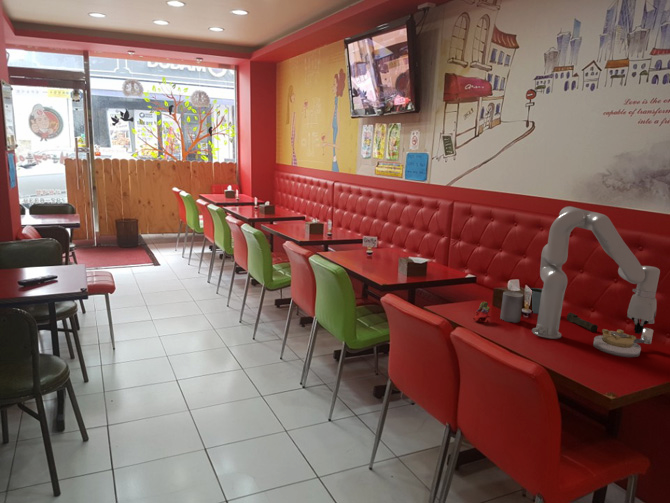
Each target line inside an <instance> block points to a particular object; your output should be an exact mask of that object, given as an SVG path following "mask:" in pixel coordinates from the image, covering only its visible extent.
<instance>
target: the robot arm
mask: <svg viewBox="0 0 670 503" xmlns="http://www.w3.org/2000/svg"><path fill="white" fill-rule="evenodd" d="M575 228H580V229H585V230H588V231H591V232H592V233H593V235H594V236H595V238H596V239H597V241H598V243H599V245H600V246H601V248H602V250H603V251H604V252H605V253H606V255H608V256H609V257H610V258H611V259H613V260H614V262H615V263H616V264H617V265H618V270H617V273H618V275H619V277H620V278H622V279H623V280H625V281H627V282H628V283H629V284H634V285H636V287H635V288H632V293H633V292H634V293H633V294H632V296H631V299H630V301H629V304H628V308H627V312H626V313H627V316H626V317H627V318H628V319H630V320H632V322H633V324H634V329H633V331H634V334H637V335H640V334H642V330H643V328H645V327H644V326H645V325H648V324H649V325H650V324H651V325H653V324H655V319H656V316H657V305H658V304H657V298H656V294H657V289H658V283H659V278H660V275H661V274H660V273H661V270H660V269H659V268H658V267H656V266H651V265H642V264H641V263H640V261H639V259H638V258H637V256H635V254H634V253H633V252H632V251H631V249H630V248H629V246H628V245H627V244H626V243H625V241H624V240H623V238H622V236H621V235H620V233H619V232H618V231H617V229H616V227H615V225H614V224H613V221H611V219H610V218H609V216H607V215H606V214H603V213H600V212H596V211H590V210H587V209H582V208H579V207H574V206H570V205H569V206H565V207H563V208H562V209H561V210H560V212H559V213H558V217H556V219H554V221H553V222H552V224H551V226H550V228H549V231H548V232H549V233H548V238H547V244H545V245H544V246H543V247H542V251H541V255H540V257H541V258H540V266H539V267H540V268H539V276H540V279H541V281H542V283H543V285H542V286H543V287H542V288H541V289H542V293H541V299H540V307H539V314H537V320H536V327H533V328H532V329H531V332H532V333H533V334H534V335H535V336H538V337H541V338H544V339H550V340H551V339H552V340H557V339H561V338H562V333H561V332H560V331H559V329H560V324H561V316H562V310H563V304H564V299H565V294H566V293H565V292H566V289H567V286H568V276H567V274H566V273H565V272H564V270H563V265H564V264H566V262H567V260H568V256H569V255H568V254H569V242H570V236H571V232H573V230H574V229H575ZM640 320H641V321H640Z"/></svg>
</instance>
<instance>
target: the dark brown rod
mask: <svg viewBox="0 0 670 503" xmlns="http://www.w3.org/2000/svg"><path fill="white" fill-rule="evenodd" d="M566 321H568V322H570V323H571V322H572V324H576V325H578V326H581V327H583V329H584V328H585V329H586V330H587V331H588V330H589V331H590V332H591V333H594V332H595V333H596V332H597V330H598V328H599V325H597V324H594V323H592V322H590V321H587V320H584V319H582V318H580V317H579V315H577V314H575V313H573V312H569V313H567V315H566Z"/></svg>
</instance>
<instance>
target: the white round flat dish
mask: <svg viewBox="0 0 670 503" xmlns="http://www.w3.org/2000/svg"><path fill="white" fill-rule="evenodd" d="M602 336H603V334H602V335H596V336H595V337H594V338H593V344H592V346H593V347H594V348H595V349H597V350H599V351H601V352H602V353H606V354H609V355H612V356H616V357H617V356H618V357H623V358H637V357H640V355H641V351H642V347H641V345H640V344H639V343H633V346H632V347H620V346H615V345H611V344H609V343H606V342H604V341H603V340H602Z"/></svg>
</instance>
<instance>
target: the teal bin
mask: <svg viewBox="0 0 670 503" xmlns="http://www.w3.org/2000/svg"><path fill="white" fill-rule="evenodd" d="M530 289H531V290H532V292H533V293H532V311H533V313H532V314H535V315H536V314H537V315H538V314H539V307H540V299H541V293H542V289H543V288H538V287H530Z"/></svg>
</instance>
